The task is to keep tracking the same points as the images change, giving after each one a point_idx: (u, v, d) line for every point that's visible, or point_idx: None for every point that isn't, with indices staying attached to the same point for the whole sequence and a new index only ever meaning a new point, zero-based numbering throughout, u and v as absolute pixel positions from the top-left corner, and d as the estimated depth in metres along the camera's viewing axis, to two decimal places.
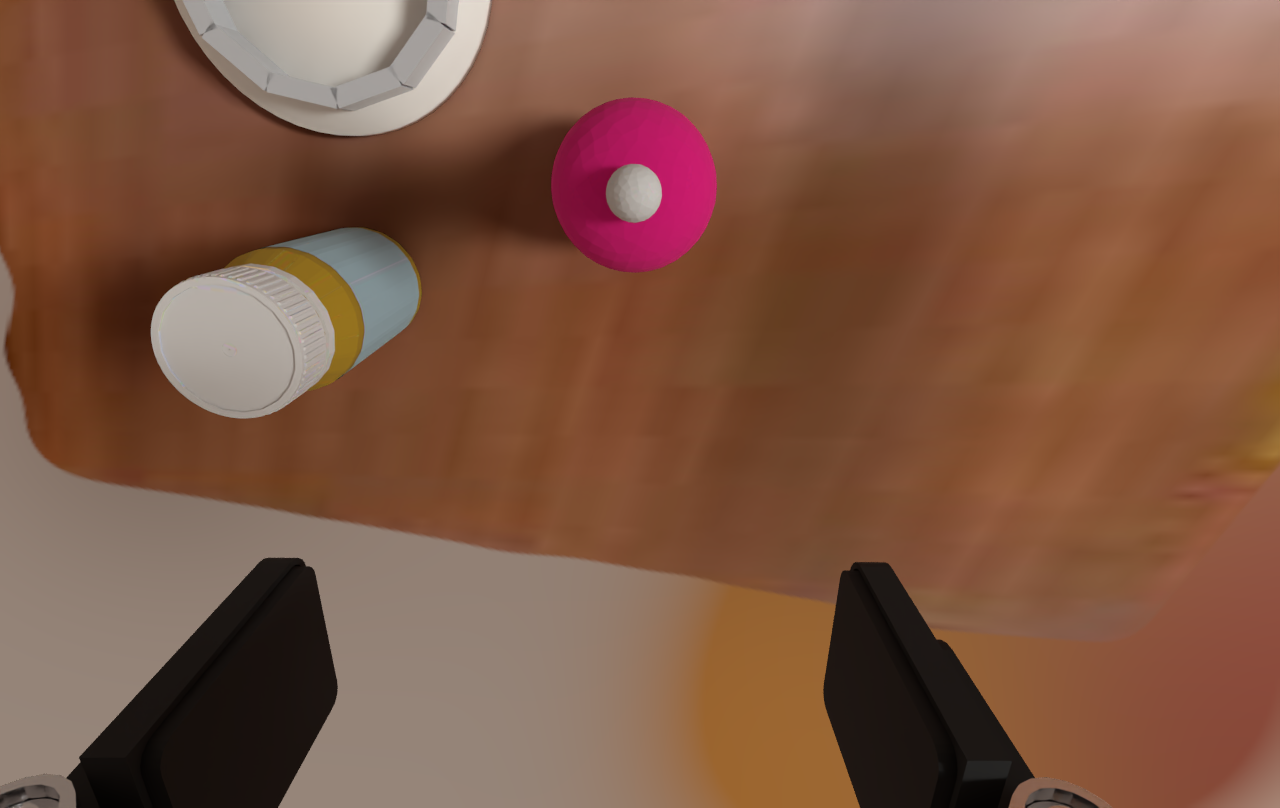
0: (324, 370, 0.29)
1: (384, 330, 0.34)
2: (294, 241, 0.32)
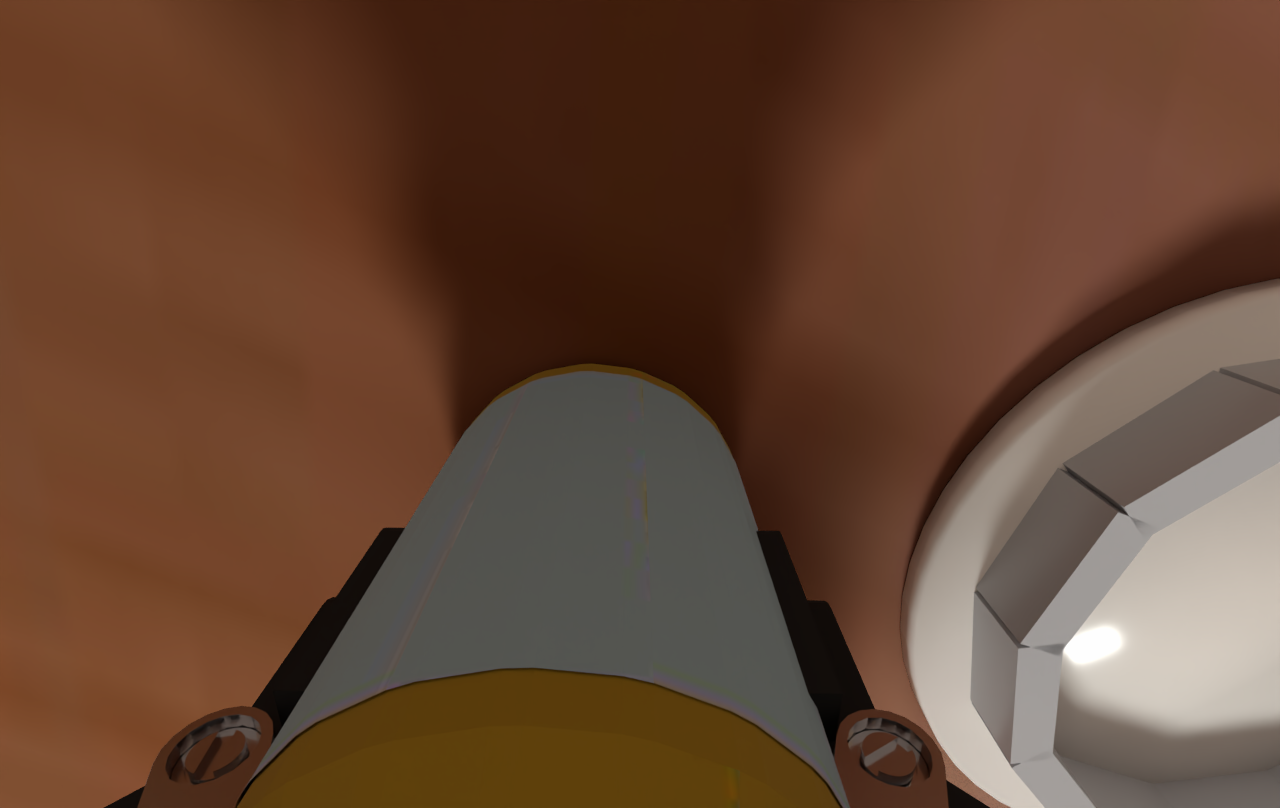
0: None
1: None
2: None
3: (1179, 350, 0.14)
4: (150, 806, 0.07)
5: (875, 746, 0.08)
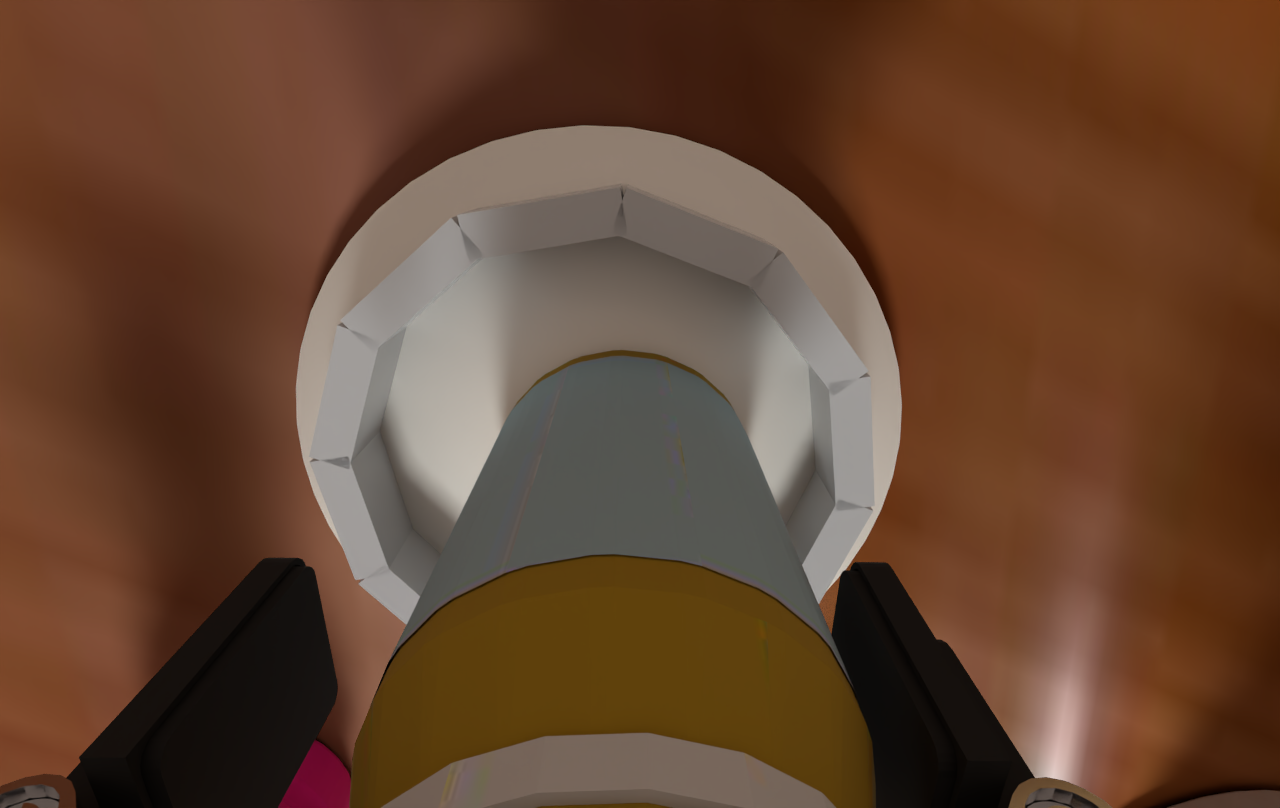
0: None
1: None
2: None
3: (434, 191, 0.16)
4: None
5: None
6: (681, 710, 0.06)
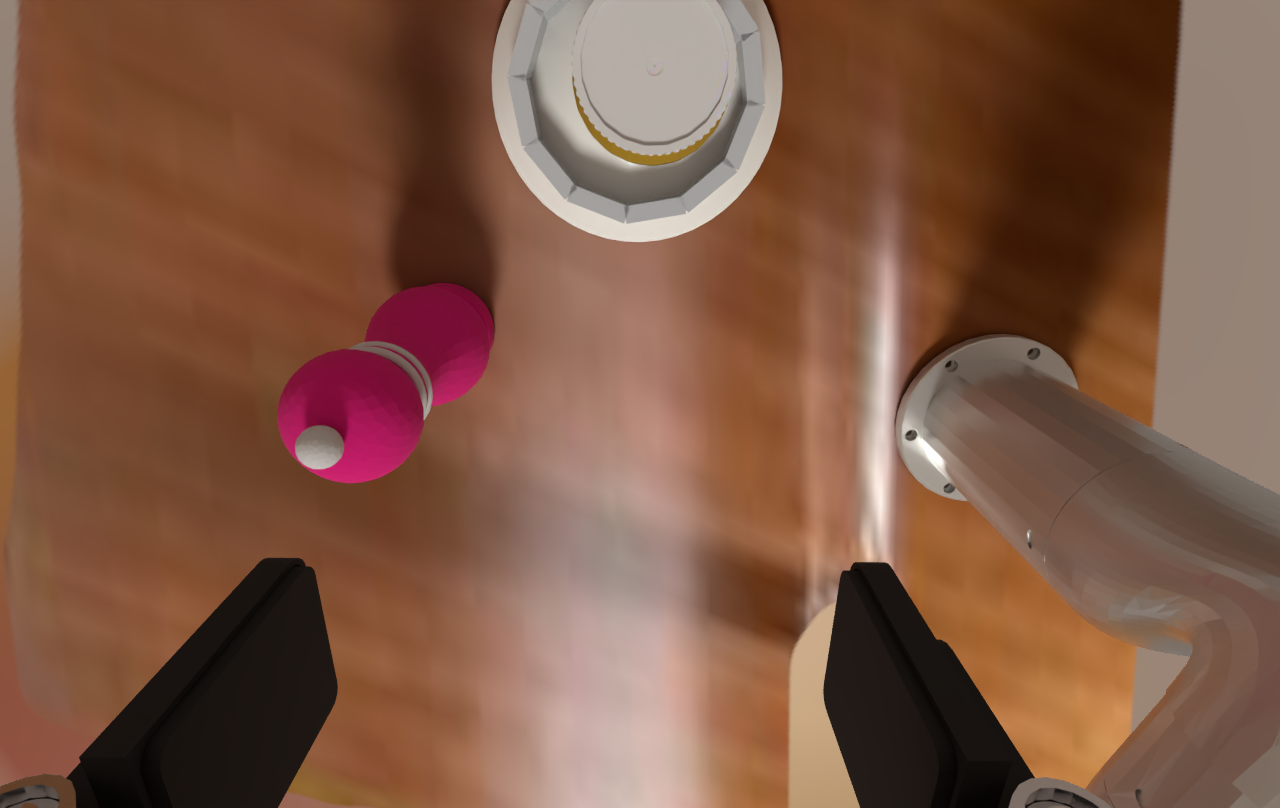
0: None
1: None
2: None
3: None
4: None
5: None
6: None
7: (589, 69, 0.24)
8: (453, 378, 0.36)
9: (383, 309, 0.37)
